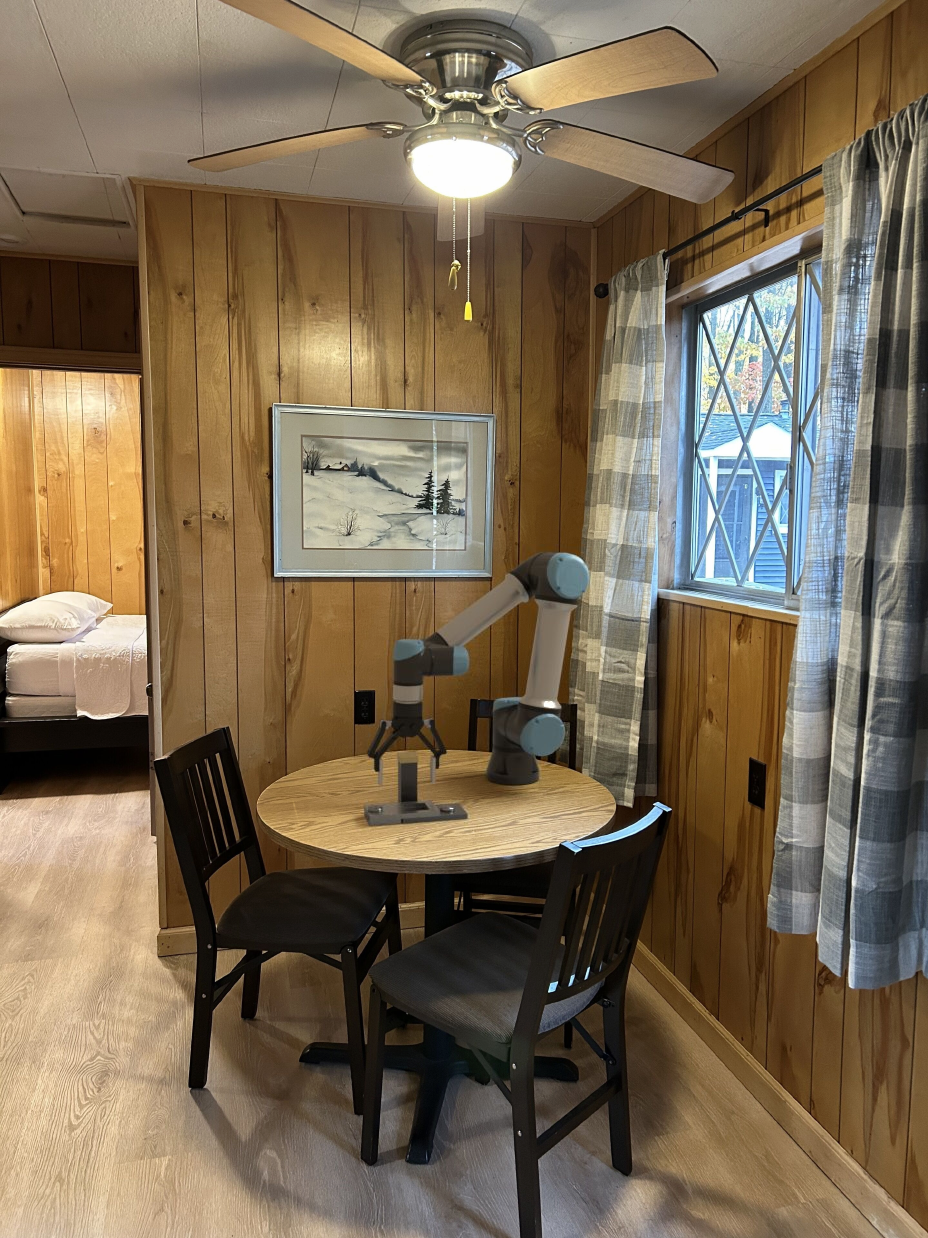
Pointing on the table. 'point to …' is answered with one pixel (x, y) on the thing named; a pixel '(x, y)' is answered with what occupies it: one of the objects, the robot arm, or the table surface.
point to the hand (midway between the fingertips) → (406, 783)
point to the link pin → (407, 776)
